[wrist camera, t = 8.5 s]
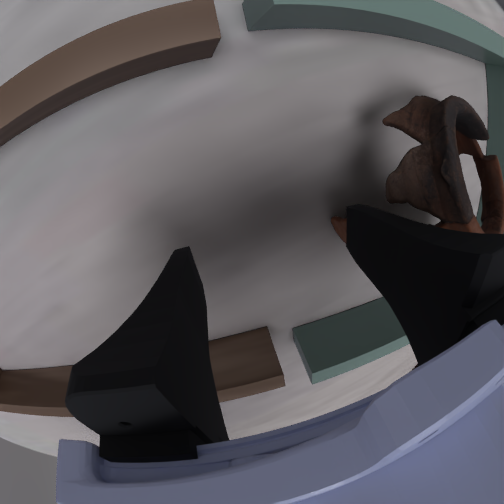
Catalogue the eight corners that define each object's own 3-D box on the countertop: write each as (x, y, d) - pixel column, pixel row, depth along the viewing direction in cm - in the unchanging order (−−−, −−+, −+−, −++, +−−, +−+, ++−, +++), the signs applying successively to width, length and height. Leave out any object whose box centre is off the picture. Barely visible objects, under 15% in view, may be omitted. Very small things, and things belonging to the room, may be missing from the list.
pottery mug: (280, 196, 14) (409, 150, 6) (357, 103, 16) (450, 52, 8) (396, 321, 17) (496, 346, 9) (441, 222, 19) (525, 218, 11)
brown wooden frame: (269, 339, 19) (285, 385, 16) (3, 379, 17) (-6, 410, 13) (205, 27, 8) (212, -4, 5) (-99, 224, 6) (-123, 248, 3)
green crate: (469, 268, 21) (494, 291, 18) (294, 341, 20) (312, 384, 16) (491, 50, 10) (530, 57, 6) (242, 3, 8) (265, -32, 5)
